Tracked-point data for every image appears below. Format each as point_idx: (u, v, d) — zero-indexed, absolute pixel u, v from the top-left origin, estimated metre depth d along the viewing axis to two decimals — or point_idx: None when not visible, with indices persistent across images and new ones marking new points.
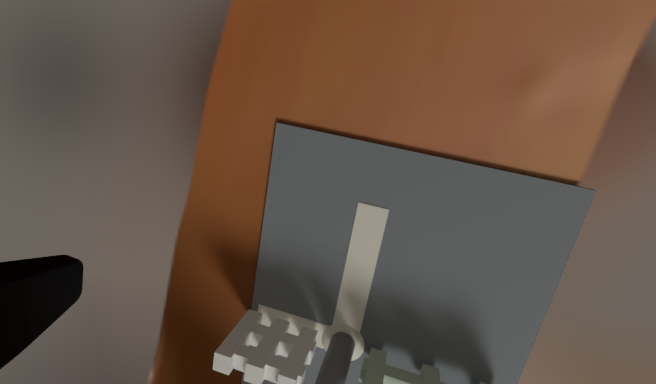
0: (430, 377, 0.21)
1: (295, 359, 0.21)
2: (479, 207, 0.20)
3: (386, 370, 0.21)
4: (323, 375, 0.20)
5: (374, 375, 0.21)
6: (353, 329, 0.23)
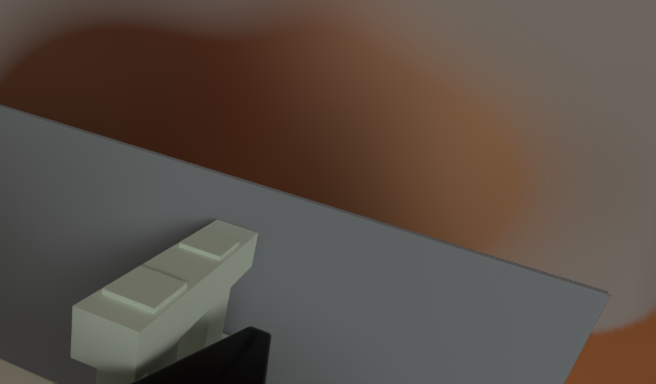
0: None
1: None
2: None
3: None
4: None
5: None
6: None
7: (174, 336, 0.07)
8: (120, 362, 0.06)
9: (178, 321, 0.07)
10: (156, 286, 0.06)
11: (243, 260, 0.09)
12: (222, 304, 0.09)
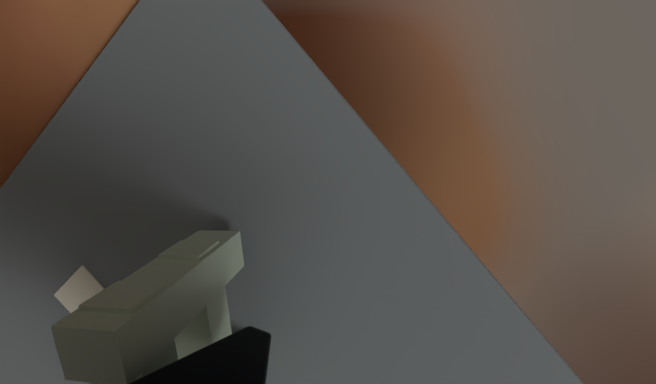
0: None
1: None
2: (137, 138, 0.10)
3: None
4: None
5: None
6: None
7: (164, 337, 0.07)
8: (108, 369, 0.06)
9: (163, 321, 0.07)
10: (132, 292, 0.07)
11: (230, 259, 0.09)
12: (222, 307, 0.09)
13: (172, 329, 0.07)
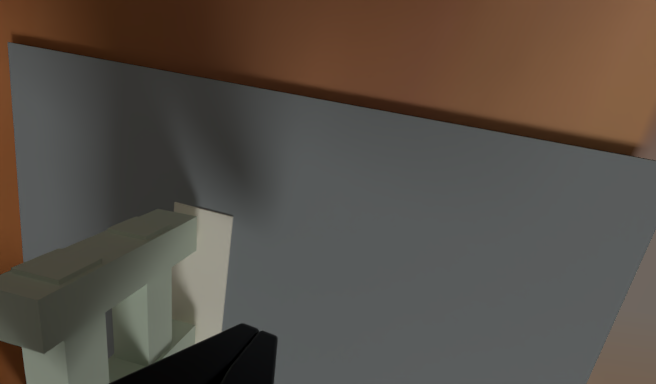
0: None
1: None
2: (412, 210, 0.09)
3: None
4: None
5: None
6: None
7: (93, 311, 0.07)
8: (28, 333, 0.06)
9: (94, 295, 0.07)
10: (67, 263, 0.07)
11: (181, 243, 0.09)
12: (164, 287, 0.09)
13: (103, 304, 0.07)
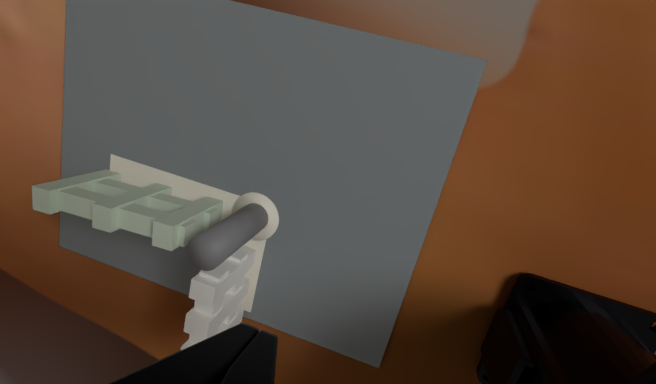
0: None
1: None
2: (96, 68, 0.21)
3: None
4: None
5: None
6: (236, 202, 0.21)
7: (64, 185, 0.18)
8: (44, 195, 0.17)
9: (60, 183, 0.18)
10: None
11: (104, 173, 0.21)
12: (111, 181, 0.20)
13: (68, 184, 0.18)
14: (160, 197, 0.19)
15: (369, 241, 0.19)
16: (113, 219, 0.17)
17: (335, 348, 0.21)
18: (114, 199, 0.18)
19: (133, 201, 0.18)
